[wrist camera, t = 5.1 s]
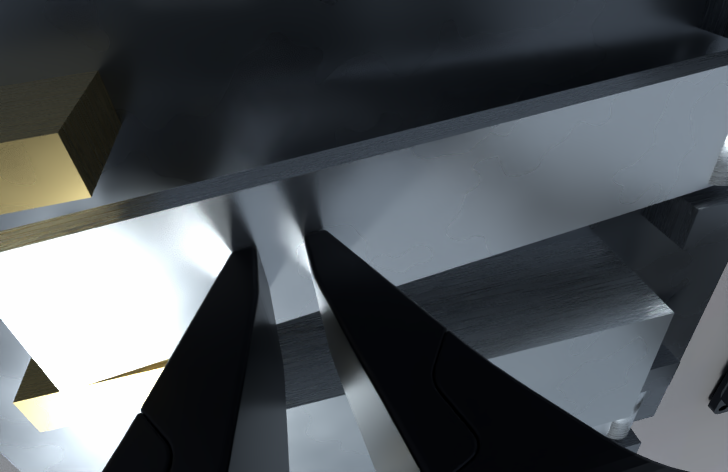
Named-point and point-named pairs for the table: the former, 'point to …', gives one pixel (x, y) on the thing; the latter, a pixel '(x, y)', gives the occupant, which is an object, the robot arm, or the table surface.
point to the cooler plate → (334, 129)
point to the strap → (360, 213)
